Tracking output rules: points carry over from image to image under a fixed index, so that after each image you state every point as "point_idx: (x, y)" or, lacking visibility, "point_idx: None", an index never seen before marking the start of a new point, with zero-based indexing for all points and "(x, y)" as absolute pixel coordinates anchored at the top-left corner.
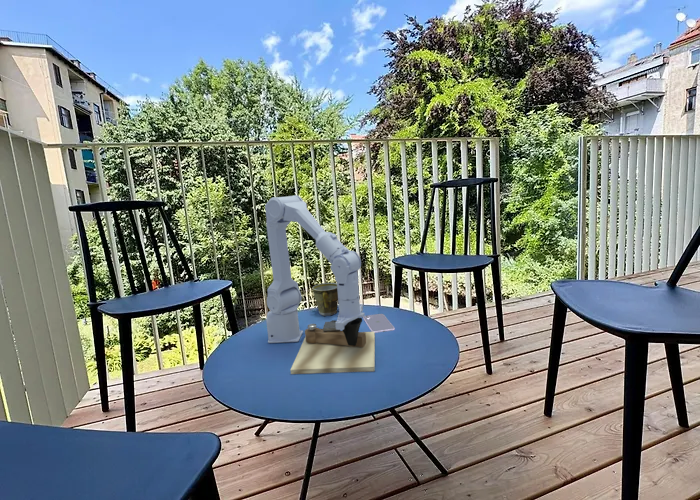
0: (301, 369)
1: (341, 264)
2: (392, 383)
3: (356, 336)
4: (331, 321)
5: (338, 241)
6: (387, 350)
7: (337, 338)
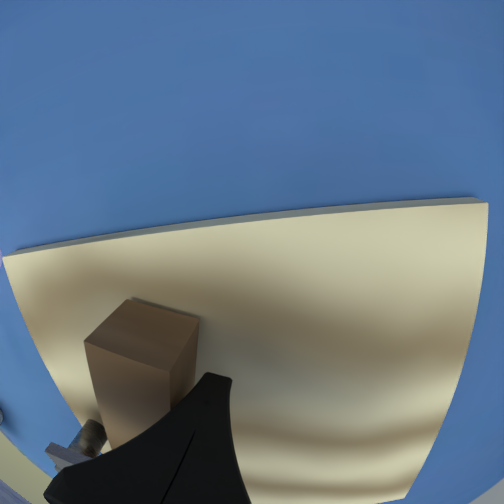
0: (412, 482)
1: None
2: None
3: (207, 422)
4: None
5: None
6: (163, 131)
7: None
